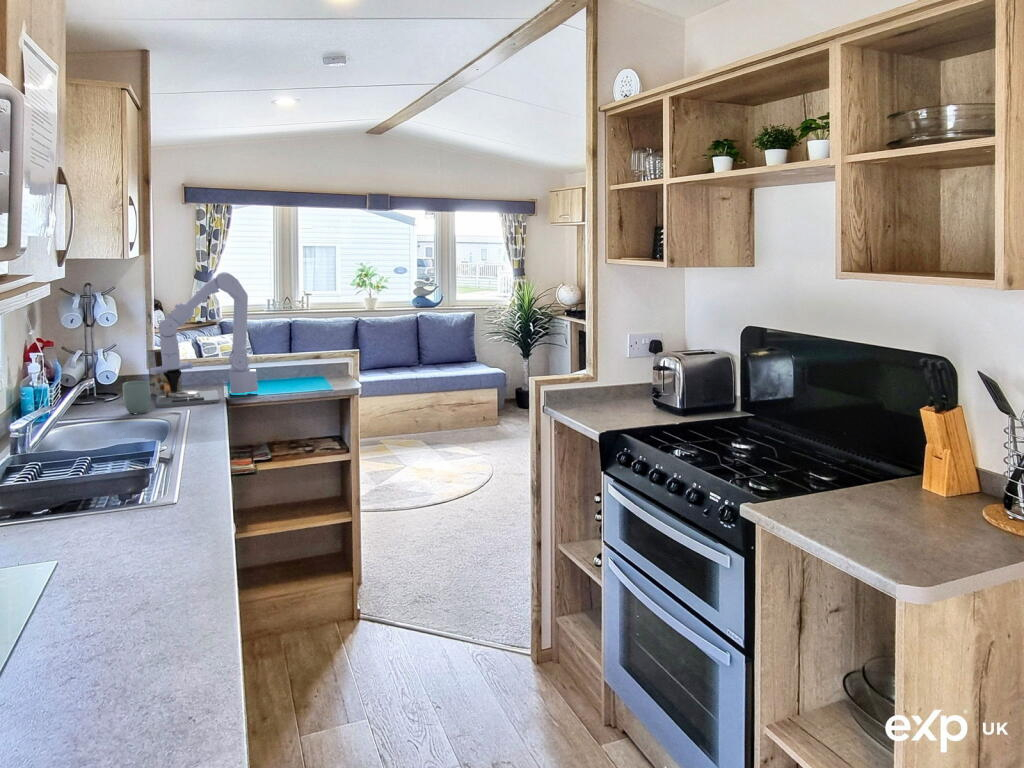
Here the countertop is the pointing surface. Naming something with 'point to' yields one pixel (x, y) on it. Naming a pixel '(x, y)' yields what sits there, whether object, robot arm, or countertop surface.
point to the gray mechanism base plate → (187, 399)
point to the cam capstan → (179, 394)
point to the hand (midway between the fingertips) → (174, 391)
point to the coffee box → (159, 378)
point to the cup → (137, 396)
